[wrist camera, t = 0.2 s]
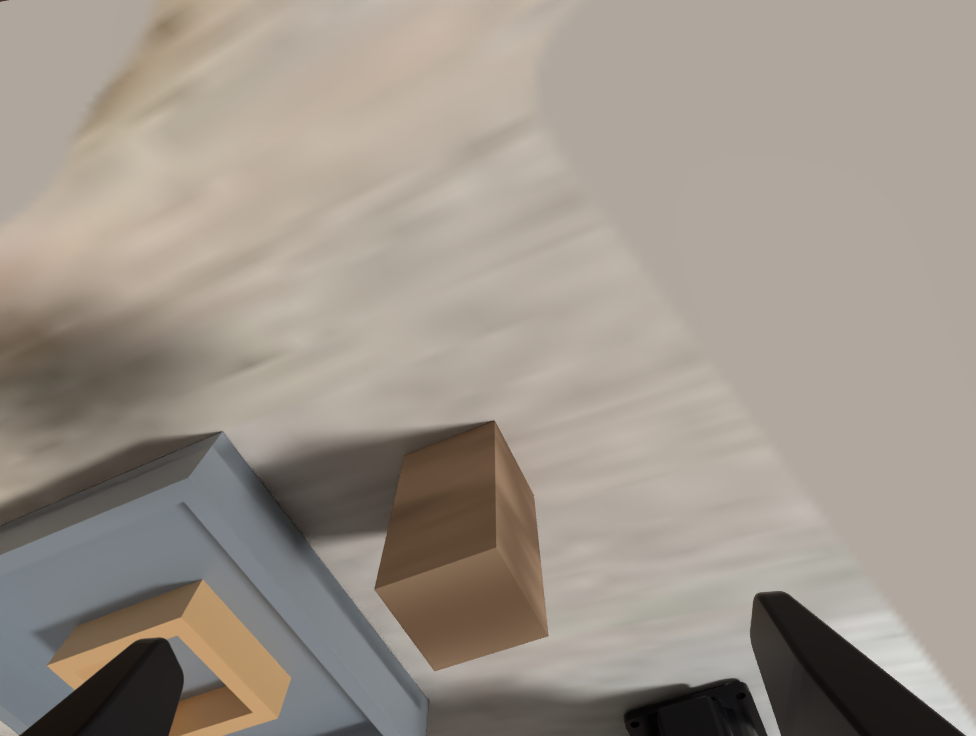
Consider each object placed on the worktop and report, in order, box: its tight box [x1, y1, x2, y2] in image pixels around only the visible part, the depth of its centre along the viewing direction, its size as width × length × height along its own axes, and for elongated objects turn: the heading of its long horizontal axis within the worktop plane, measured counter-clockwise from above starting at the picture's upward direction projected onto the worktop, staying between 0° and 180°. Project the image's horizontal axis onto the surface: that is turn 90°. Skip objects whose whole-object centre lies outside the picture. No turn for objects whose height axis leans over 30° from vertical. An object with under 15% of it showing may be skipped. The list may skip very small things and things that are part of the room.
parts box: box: [0, 432, 429, 736], centre depth 27 cm, size 18×16×3 cm
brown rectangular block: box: [374, 420, 548, 671], centre depth 21 cm, size 4×4×7 cm
